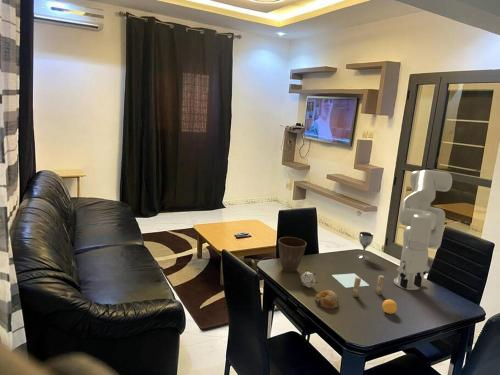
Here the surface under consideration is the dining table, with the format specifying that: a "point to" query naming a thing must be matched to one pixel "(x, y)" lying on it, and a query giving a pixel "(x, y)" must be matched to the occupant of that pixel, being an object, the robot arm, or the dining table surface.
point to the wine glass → (365, 242)
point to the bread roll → (327, 299)
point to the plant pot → (291, 252)
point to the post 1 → (356, 286)
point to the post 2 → (380, 285)
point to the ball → (389, 306)
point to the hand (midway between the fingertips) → (410, 286)
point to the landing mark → (348, 280)
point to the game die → (308, 279)
